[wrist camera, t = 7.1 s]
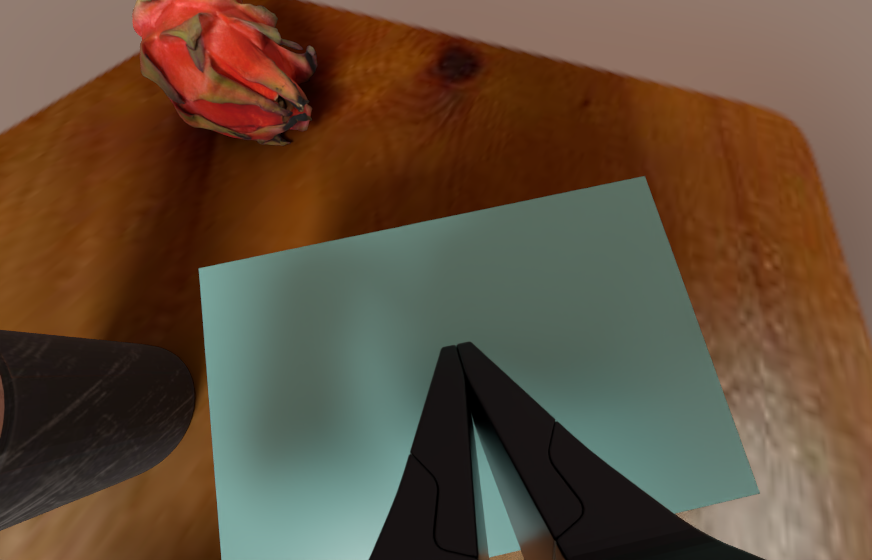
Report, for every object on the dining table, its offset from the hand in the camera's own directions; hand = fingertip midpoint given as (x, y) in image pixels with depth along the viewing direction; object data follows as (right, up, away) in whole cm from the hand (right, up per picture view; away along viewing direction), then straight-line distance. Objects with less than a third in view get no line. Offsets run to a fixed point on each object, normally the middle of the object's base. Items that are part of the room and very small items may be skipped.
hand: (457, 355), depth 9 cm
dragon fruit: (-13, +14, +15) cm, 24 cm away
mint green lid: (0, -1, +2) cm, 3 cm away
